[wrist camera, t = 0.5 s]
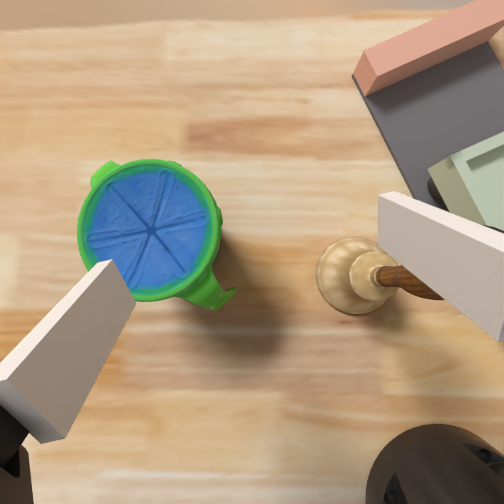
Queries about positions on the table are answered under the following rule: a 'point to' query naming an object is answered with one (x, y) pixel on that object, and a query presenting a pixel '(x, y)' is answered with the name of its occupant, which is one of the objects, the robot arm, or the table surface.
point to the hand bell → (363, 276)
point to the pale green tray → (473, 182)
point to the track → (436, 90)
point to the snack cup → (154, 231)
